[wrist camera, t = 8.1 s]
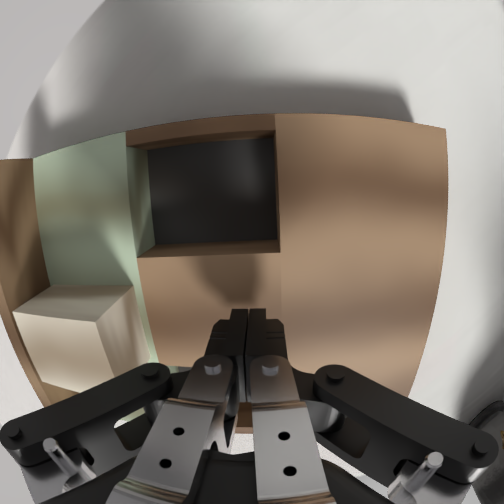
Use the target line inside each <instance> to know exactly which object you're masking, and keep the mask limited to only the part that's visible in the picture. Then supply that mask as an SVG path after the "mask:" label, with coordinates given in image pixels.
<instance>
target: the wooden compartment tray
mask: <svg viewBox="0 0 504 504" xmlns="http://www.w3.org/2000/svg"><path fill="white" fill-rule="evenodd" d="M447 210H448V155H447V139H446V129H444V128H439V127H434V126H429V125H423V124H418V123H412V122H405V121H398V120H391V119H383V118H374V117H364V116H352V115H337V114H311V113H276V114H250V115H235V116H223V117H212V118H203V119H195V120H187V121H180V122H173V123H167V124H161V125H155V126H150V127H144V128H139V129H134V130H130V131H125V132H121V133H116V134H112V135H108V136H104V137H100V138H96V139H92V140H89V141H85V142H82V143H78V144H75V145H71V146H68V147H65V148H62V149H59V150H56V151H53V152H50V153H47V154H44V155H41V156H39V157H36V158H33V159H5V160H0V315H1V318H2V320H3V323H4V326H5V328H6V331H7V334H8V336H9V339H10V341H11V343H12V346H13V348H14V350H15V353H16V355H17V357H18V359H19V361H20V364H21V366H22V368H23V370H24V372H25V374H26V376H27V378H28V380H29V381H30V383H31V385H32V387H33V389H34V391H35V392H36V394H37V396H38V398H39V399H40V401H41V403H42V404H43V406H44V408H45V407H47V406H50V405H52V404H54V403H57V402H59V401H62V400H64V399H67V398H69V397H71V396H74V395H76V394H78V393H79V392H75V391H72V390H68V389H65V388H61V387H58V386H55V385H52V384H48V383H45V382H42V380H41V378H40V376H39V374H38V372H37V370H36V368H35V366H34V364H33V362H32V360H31V358H30V355H29V353H28V351H27V348H26V346H25V344H24V341H23V339H22V336H21V334H20V331H19V329H18V326H17V323H16V321H15V318H14V315H13V312H12V311H14V310H15V309H17V308H18V307H20V306H21V305H23V304H24V303H26V302H27V301H29V300H30V299H32V298H33V297H35V296H36V295H38V294H40V293H41V292H43V291H44V290H46V289H47V288H49V287H51V286H52V285H54V284H55V285H134V290H135V295H136V299H137V304H138V308H139V313H140V317H141V321H142V325H143V329H144V333H145V337H146V341H147V344H148V348H149V352H150V355H151V358H150V360H149V361H148V363H151V362H157V363H162V364H164V365H166V366H167V367H168V368H169V369H170V373H177V372H184V371H188V370H191V368H192V366H193V364H194V362H195V361H196V360H197V359H199V358H201V357H203V356H204V354H205V351H206V347H207V344H208V341H209V339H210V335H211V331H212V328H213V325H214V324H215V323H216V322H218V321H219V320H220V319H230V314H231V310H232V309H250V308H266V319H279V320H280V321H281V322H282V323H283V324H284V331H285V339H286V347H287V355H288V361H289V362H290V364H291V366H292V367H293V368H295V369H297V370H299V371H302V372H306V373H312V374H315V372H316V371H317V370H318V369H319V368H321V367H323V366H325V365H331V364H337V365H343V366H346V367H348V368H350V369H352V370H354V371H356V372H358V373H359V374H361V375H363V376H365V377H367V378H369V379H371V380H373V381H375V382H377V383H379V384H381V385H383V386H385V387H387V388H389V389H391V390H393V391H395V392H397V393H399V394H401V395H403V396H405V397H407V398H408V395H409V393H410V390H411V387H412V385H413V382H414V379H415V376H416V373H417V370H418V367H419V364H420V361H421V358H422V355H423V351H424V348H425V344H426V341H427V337H428V334H429V330H430V326H431V322H432V317H433V313H434V309H435V304H436V299H437V294H438V288H439V283H440V277H441V270H442V264H443V256H444V248H445V238H446V226H447ZM144 413H145V411H144V409H143V408H141V409H139V410H137V411H135V412H133V413H131V414H129V415H127V416H125V417H124V418H122V419H120V420H125V421H131V420H132V419H134V418H136V417H138V416H140V415H142V414H144ZM235 433H242V434H253V425H252V405H251V402H248V399H247V395H246V402H239V410H238V420H237V425H236V429H235Z"/></svg>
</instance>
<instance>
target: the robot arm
mask: <svg viewBox="0 0 504 504" xmlns="http://www.w3.org/2000/svg"><path fill="white" fill-rule="evenodd" d="M246 395H247V399H248V402H251V405H252V425H253V442H254V452H248V453H242V454H236V455H231V454H230V453H231V448H232V443H233V439H234V434H235V429H236V425H237V420H238V410H239V402H246ZM141 408H143V409H144V411H145V413H144V414H142V415H140V416H138V417H136V418H134V419H132V420H131V421H129V422H127V423H125V424H123V425H121V426H119V427H117V428H114V425H115V423H116V422H117V421H118V420H120V419H122V418H124V417H125V416H127V415H129V414H131V413H133V412H135V411H137V410H139V409H141ZM316 441H317V442H318V443H319V444H321V445H322V446H324V447H325V448H326V449H328V450H329V451H331V452H332V453H334V454H335V455H336V456H338V457H339V458H341V459H342V460H344V461H345V462H347V463H348V464H350V465H351V466H353V467H355V468H356V469H358V470H359V471H361V472H362V473H364V474H366V475H367V476H369V477H370V478H372V479H374V480H376V481H377V482H379V483H381V484H383V485H384V486H386V487H387V488H388V498H389V499H387V498H385V497H384V496H382V495H381V494H379V493H377V492H376V491H374V490H373V489H371V488H370V487H368V486H367V485H365V484H364V483H362V482H361V481H360V480H358V479H357V478H355V477H354V476H352V475H351V474H350V473H348V472H347V471H345V470H344V469H343V468H341V467H339V466H337V465H336V464H334V463H332V462H329V461H327V460H324V459H321V458H320V454H319V450H318V446H317V443H316ZM0 442H1V444H2V445H3V446H4V447H5V449H6V450H7V451H8V452H9V453H10V455H11V456H12V457H13V458H14V459H15V461H16V462H17V463H18V464H19V466H20V467H21V470H22V473H23V476H24V478H25V481H26V483H27V486H28V489H29V491H30V493H31V496H32V498H33V500H34V502H35V504H461V503H462V501H463V500H464V498H465V496H466V494H467V492H468V490H469V489H470V486H471V485H472V484H473V483H474V482H475V481H476V480H477V479H478V478H479V477H480V476H481V475H482V474H483V473H484V472H485V471H486V470H487V469H488V468H489V467H490V466H491V464H492V463H493V462H494V461H495V460H496V458H497V456H498V452H499V447H498V443H497V441H496V439H495V438H494V437H493V436H492V435H491V434H489V433H487V432H484V431H482V430H479V429H477V428H474V427H472V426H470V425H467V424H465V423H462V422H460V421H458V420H455V419H453V418H451V417H449V416H446V415H444V414H442V413H439V412H437V411H435V410H433V409H431V408H428V407H426V406H424V405H422V404H420V403H418V402H416V401H413V400H411V399H409V398H407V397H405V396H403V395H401V394H399V393H397V392H395V391H393V390H391V389H389V388H387V387H385V386H383V385H381V384H379V383H377V382H375V381H373V380H371V379H369V378H367V377H365V376H363V375H361V374H359V373H358V372H356V371H354V370H352V369H350V368H348V367H346V366H343V365H337V364H331V365H325V366H323V367H321V368H319V369H318V370H317V371H316V372H315V374H312V373H306V372H302V371H299V370H297V369H295V368H293V367H292V366H291V364H290V362H289V361H288V355H287V347H286V339H285V331H284V324H283V323H282V322H281V321H280V320H279V319H266V308H250V309H232V310H231V314H230V319H220V320H219V321H218V322H216V323H215V324H214V325H213V328H212V331H211V335H210V339H209V341H208V344H207V347H206V351H205V354H204V356H203V357H201V358H199V359H197V360H196V361H195V362H194V364H193V366H192V368H191V370H188V371H184V372H177V373H170V369H169V368H168V367H167V366H166V365H164V364H162V363H157V362H151V363H145V364H142V365H140V366H138V367H136V368H134V369H132V370H130V371H127V372H125V373H123V374H121V375H119V376H117V377H114V378H112V379H110V380H108V381H106V382H103V383H101V384H99V385H97V386H94V387H92V388H90V389H88V390H85V391H83V392H81V393H78V394H76V395H74V396H71V397H69V398H67V399H64V400H62V401H59V402H57V403H54V404H52V405H50V406H47V407H45V408H42V409H39V410H37V411H34V412H32V413H29V414H26V415H24V416H21V417H18V418H16V419H13V420H10V421H8V422H7V423H6V424H4V426H3V427H2V428H1V430H0Z"/></svg>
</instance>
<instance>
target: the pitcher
mask: <svg viewBox="0 0 504 504" xmlns="http://www.w3.org/2000/svg"><path fill="white" fill-rule="evenodd" d="M470 426H472V427H474V428H477V429H479V430H482V431H484V432H487V433H489V434H491V435H492V436H493V437H494V438H495V439H496V441H497V443H498V447H499V452H498V456H497V458H496V460H495V461H494V462H493V463H492V464H491V466H490V467H489V468H488V469H487V470H486V471H485V472H484V473H483V474H482V475H481V476H480V477H479V478H478V479H477V480H476V481H475V482H474V483H473V484H472V486H473V488H474V491H475V493H476V495H477V497H478V499H479V501H480V503H481V504H504V402H503V401H496V402H495V403H493V404H491V405H490V406H488V407H487V408H486V409H485V410H484V411H482V412H481V413H480V414H479V415H478V416H477V417H476V418H475V419H474V420H473V421H472V423H471V424H470Z"/></svg>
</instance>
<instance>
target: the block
mask: <svg viewBox="0 0 504 504" xmlns="http://www.w3.org/2000/svg"><path fill="white" fill-rule="evenodd" d="M12 312H13V315H14V318H15V321H16V323H17V326H18V329H19V331H20V334H21V336H22V339H23V341H24V344H25V346H26V348H27V351H28V353H29V355H30V358H31V360H32V362H33V364H34V366H35V368H36V370H37V372H38V374H39V376H40V378H41V380H42V382H45V383H48V384H52V385H55V386H58V387H61V388H65V389H68V390H72V391H75V392H79V393H81V392H83V391H85V390H88V389H90V388H92V387H94V386H97V385H99V384H101V383H103V382H106V381H108V380H110V379H112V378H114V377H117V376H119V375H121V374H123V373H125V372H127V371H130V370H132V369H134V368H136V367H138V366H140V365H142V364H145V363H148V361H149V360H150V358H151V355H150V352H149V348H148V344H147V341H146V337H145V333H144V329H143V325H142V321H141V317H140V313H139V308H138V304H137V299H136V295H135V290H134V285H55V284H54V285H52V286H51V287H49V288H47V289H46V290H44V291H43V292H41V293H40V294H38V295H36V296H35V297H33V298H32V299H30V300H29V301H27V302H26V303H24V304H23V305H21V306H20V307H18V308H17V309H15V310H14V311H12Z"/></svg>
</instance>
